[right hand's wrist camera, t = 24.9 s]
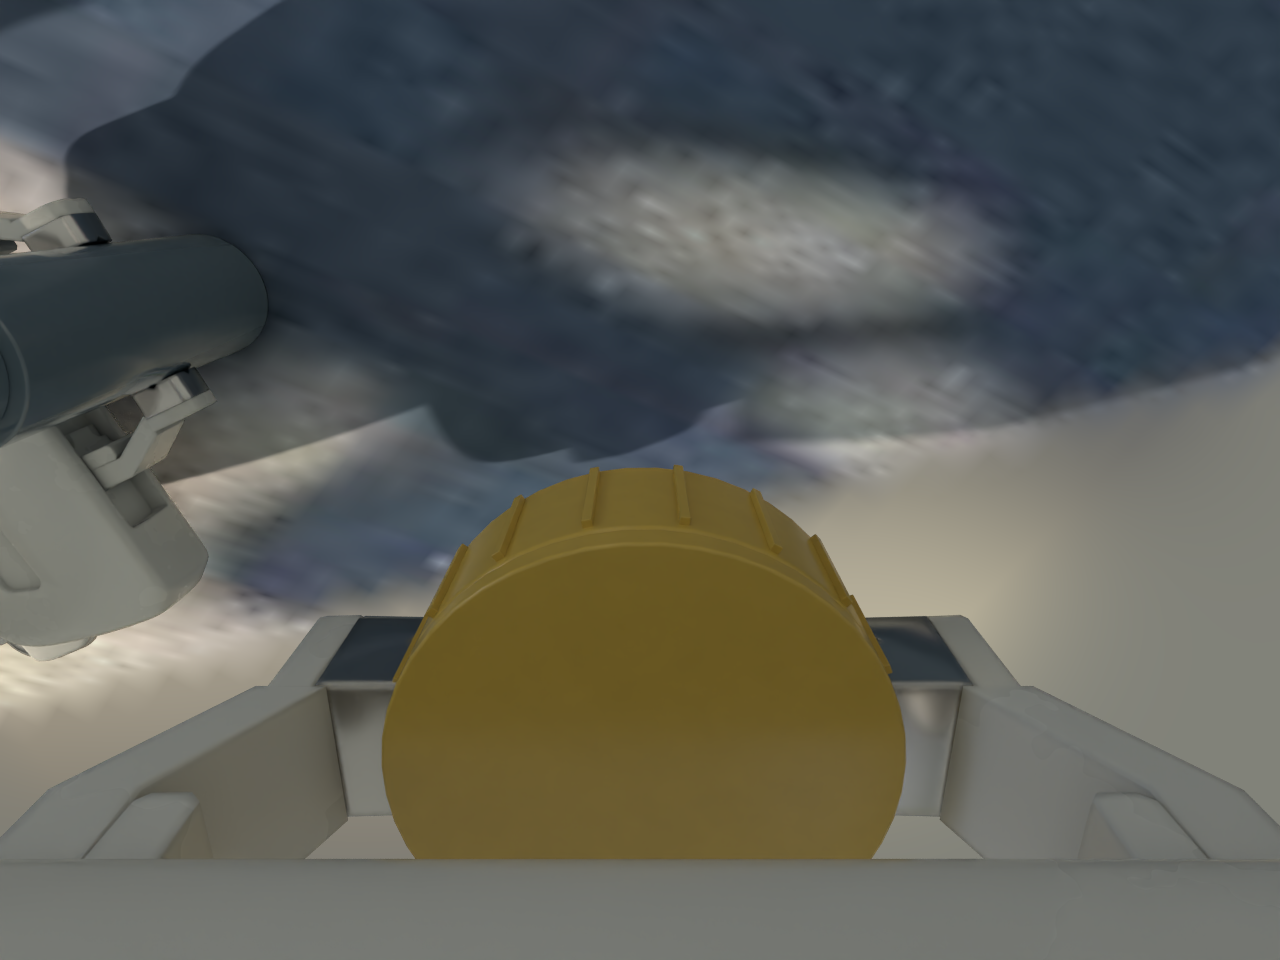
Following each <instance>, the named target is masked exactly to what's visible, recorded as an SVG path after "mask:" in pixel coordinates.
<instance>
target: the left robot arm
mask: <svg viewBox="0 0 1280 960" xmlns="http://www.w3.org/2000/svg"><path fill="white" fill-rule="evenodd" d="M14 241H22V242H25V243H26V244H27V246H28V247H29V249H30V250H31V251H40V250H50V249H59V248H68V247H77V246H86V245H96V244H105V243H110V242H111V241H112V239H111V237H110V235H109V234H108V232H107V231H106V229H105V227H104V226H103V224H102V223H101V221H100V219H99V218H98V216H97V215H96V213H95V212H94V210H93V209H92V207H91V206H90V204H89V203H88V201H87V200H86V199H84V198H81V199H61V200H57V201H54V202H51V203H48V204H45V205H43V206H41V207H39V208H38V209H36V210H34V211H32V212H30V213H28V214H20V213H11V212H2V211H0V255H3V254H10V253H11V252H13V251H15V250H17V245H16V243H15V242H14ZM203 392H204V393H203ZM201 393H202V394H201ZM199 394H200V395H199ZM131 396H132V397H133V399H134V400H135V402H136V403H137V405H138V406H139V408H140V410H141V411H142V413H143V414H144V416H143V418H142V419H141V421H140V423H139V425H138V426H137V428H136V430H135V431H134V432H132V433H130V434H128V435H126V434H125V433H124V432H123V430H122V429H121V427H120V426H119V425H118V423H117V422H116V420H115V419H114V417H113V416H112V415H111V413H110V412H109V410H108V409H107V408H106V406H103V407H101V408H98V409H96V410H93V411H91V412H88V413H86V414H83V415H81V416H79V417H76V418H74V419H71V420H69V421H66V422H64V423H61V424H59V425H57V426H54V427H52V428H49V429H47V430H44V431H42V432H40V433H37V434H35V435H32V436H30V437H27V438H25V439H22V440H20V441H18V442H15V443H13V444H10V445H8V446H5V447H3V448H0V645H3V644H5V643H8V644H9V645H10V646H11V647H13V648H14V649H15V650H17V651H19V652H20V653H22V654H25V655H27V656H30V657H32V658H33V659H34V660H37V661H49V660H53V659H56V658H60V657H62V656H65V655H67V654H69V653H72V652H74V651H77V650H79V649H81V648H84V647H86V646H88V645H89V644H91V643H92V642H93V641H94V640H95V639H96V637H97V636H99V635H103V634H106V633H110V632H113V631H116V630H120V629H123V628H126V627H129V626H132V625H135V624H138V623H141V622H144V621H146V620H149V619H151V618H154V617H156V616H158V615H160V614H162V613H163V612H165V611H166V610H167V609H169V608H170V607H172V606H173V605H174V604H175V603H177V602H178V601H179V600H180V599H181V598H183V597H184V596H185V595H186V594H187V593H188V592H189V591H190V590H191V589H193V588H194V587H195V585H196V584H197V583H198V582H199V581H200V579H201V577H202V575H203V572H204V569H205V567H206V564H207V561H208V552H207V550H206V548H205V547H204V545H203V543H202V542H201V541H200V539H199V538H198V536H197V535H196V534H195V532H194V531H193V529H192V528H191V526H190V525H189V524H188V522H187V521H186V519H185V518H184V517H183V515H182V514H181V512H180V511H179V510H178V508H177V507H176V505H175V504H174V502H173V501H172V500H171V498H170V497H169V495H168V494H167V493H166V491H165V490H164V488H163V487H162V485H161V484H160V483H159V481H158V480H157V478H156V477H155V475H154V474H153V473H152V471H151V470H150V468H149V467H151V466H153V465H154V464H156V463H158V462H160V461H161V460H163V459H165V458H166V456H167V454H168V452H169V450H170V449H171V447H172V445H173V443H174V441H175V439H176V437H177V435H178V433H179V431H180V429H181V427H182V425H183V423H184V421H185V420H184V419H183V418H186V417H188V416H190V415H192V414H194V413H196V412H198V411H200V410H202V409H204V408H206V407H208V406H209V405H211V404H213V403H215V402H217V400H216V398H215V397H214V395H213V394H212V392H211V391H210V389H209V388H208V386H207V385H206V383H205V382H204V380H203V379H202V377H201V376H200V374H199V372H198V371H197V369H196V368H195V367H192V368H189V369H187V370H185V371H182V372H180V373H177V374H175V375H173V376H171V377H168V378H166V379H164V380H162V381H160V382H159V383H157V384H156V385H154V386H152V387H149V388H147V389H144V390H142V391H140V392H137V393H135V394H133V395H131Z"/></svg>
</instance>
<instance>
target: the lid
mask: <svg viewBox="0 0 1280 960" xmlns="http://www.w3.org/2000/svg"><path fill="white" fill-rule="evenodd" d="M890 673H892V669H891V666H890V664H889V662H888V660H887V658H886V656H885V654H884V653H883V651H882V649H881V647H880V645H879V643H878V641H877V639H876V637H875V636H874V634H873V632H872V630H871V628H870V626H869V624H868V622H867V620H866V618H865V617H864V615H863V613H862V611H861V609H860V607H859V605H858V603H857V601H856V600H855V598H854V596H853V595H850V596H849V594H848V592H847V590H846V588H845V586H844V584H843V582H842V580H841V578H840V576H839V575H838V573H837V571H836V569H835V567H834V565H833V563H832V561H831V559H830V557H829V555H828V553H827V551H826V549H825V547H824V545H823V543H822V542H821V540H820V538H819V537H818V536H817V535H816V534H815V535H813V536H812V537H810V536H809V535H807V534H806V533H805V532H804V531H803V530H802V529H801V528H800V527H799V526H798V525H797V524H796V523H795V522H794V521H793V520H792V519H791V518H789V517H788V516H786V515H785V514H784V513H782V512H781V511H780V510H778V509H777V508H776V507H774V506H773V505H771V504H770V503H768V502H767V501H765V500H764V499H763V497H762V494H761V492H760V491H758V490H756V489H754V488H753V489H752V491H751V492H748V491H746V490H745V489H742V488H740V487H737V486H734V485H732V484H729V483H727V482H724V481H721V480H719V479H716V478H712V477H708V476H704V475H700V474H696V473H692V472H688V471H683V466H680V465H674V467H673V470H671V469H662V468H623V469H615V470H608V471H600V470H599V467H595V468H590V472H589V474H587V475H583V476H579V477H575V478H571V479H567V480H565V481H562V482H560V483H557V484H555V485H552V486H550V487H547V488H545V489H542V490H540V491H538V492H536V493H534V494H533V495H531V496H529V497H527V498H525V499H524V497H523V496H522V495H519V496H518V497H516V498H514V501H513V503H512V506H511V508H509V509H508V510H507V511H505V512H504V513H503V514H501V515H500V516H499V517H497V518H496V519H495V520H493V521H492V522H491V523H490V524H489V525H488V526H487V527H486V528H485V529H484V530H483V531H482V532H481V533H480V534H479V535H478V536H477V537H476V538H475V539H474V540H473V541H472V542H471V543H470V545H469V546H468V547H467V546H466V545H464V544H462V545H461V546H460V547H459V548H458V550H457V552H456V554H455V556H454V558H453V560H452V562H451V564H450V566H449V568H448V570H447V572H446V574H445V576H444V578H443V580H442V582H441V584H440V586H439V588H438V590H437V592H436V594H435V596H434V598H433V600H432V602H431V604H430V606H429V608H428V610H427V612H426V614H425V615H424V617H423V619H422V621H421V623H420V625H419V627H418V629H417V631H416V633H415V635H414V637H413V639H412V641H411V643H410V645H409V647H408V649H407V651H406V653H405V655H404V657H403V659H402V661H401V663H400V665H399V667H398V669H397V671H396V673H395V675H394V677H393V680H392V682H396V685H395V688H394V690H393V693H392V696H391V699H390V702H389V705H388V708H387V711H386V717H385V723H384V728H383V734H382V772H383V779H384V785H385V792H386V797H387V800H388V803H389V806H390V809H391V812H392V815H393V818H394V821H395V824H396V826H397V828H398V830H399V832H400V834H401V836H402V838H403V840H404V842H405V844H406V846H407V847H408V849H409V850H410V852H411V853H412V855H413V856H414V857H415V859H872V857H873V856H874V854H875V853H876V851H877V850H878V848H879V847H880V845H881V844H882V842H883V840H884V838H885V836H886V834H887V831H888V829H889V827H890V825H891V823H892V821H893V819H894V816H895V813H896V810H897V806H898V803H899V800H900V797H901V793H902V788H903V781H904V774H905V766H906V737H905V729H904V724H903V719H902V714H901V708H900V705H899V702H898V699H897V696H896V694H895V691H894V688H893V685H892V683H891V680H890V678H889V676H888V674H890Z"/></svg>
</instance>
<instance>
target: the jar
mask: <svg viewBox="0 0 1280 960" xmlns="http://www.w3.org/2000/svg"><path fill="white" fill-rule="evenodd" d="M267 310H268V300H267V294H266V289H265V286H264V283H263V281H262V278H261V276H260V274H259V273H258V271H257V269H256V268H255V266H254V265H253V264H252V262H251V261H250V260H249V259H248V258H247V257H246V256H245V255H244V254H243V253H242V252H241V251H240V250H238V249H237V248H236V247H234V246H233V245H231V244H229V243H228V242H226V241H224V240H221V239H219V238H216V237H213V236H209V235H203V234H188V235H179V236H169V237H160V238H151V239H142V240H132V241H123V242H114V243H105V244H96V245H86V246H77V247H68V248H59V249H50V250H40V251H31V252H22V253H13V254H3V255H0V448H3V447H5V446H8V445H10V444H13V443H15V442H18V441H20V440H22V439H25V438H27V437H30V436H32V435H35V434H37V433H40V432H42V431H44V430H47V429H49V428H52V427H54V426H57V425H59V424H61V423H64V422H66V421H69V420H71V419H74V418H76V417H79V416H81V415H83V414H86V413H88V412H91V411H93V410H96V409H98V408H101V407H103V406H105V405H108V404H110V403H113V402H115V401H118V400H120V399H123V398H125V397H127V396H130V395H132V394H135V393H137V392H140V391H142V390H144V389H147V388H149V387H152V386H154V385H156V384H157V383H159V382H160V381H162V380H164V379H166V378H168V377H171V376H173V375H175V374H177V373H180V372H182V371H185V370H187V369H189V368H192V367H195V368H198V367H201V366H203V365H206V364H208V363H210V362H213V361H215V360H218V359H220V358H223V357H225V356H227V355H230V354H232V353H235V352H237V351H239V350H242V349H244V348H245V347H247V346H249V345H250V344H251V343H252V342H253V341H254V340H255V339H256V338H257V337H258V336H259V334H260V333H261V331H262V329H263V327H264V324H265V322H266V317H267Z"/></svg>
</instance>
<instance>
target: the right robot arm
mask: <svg viewBox="0 0 1280 960" xmlns="http://www.w3.org/2000/svg"><path fill="white" fill-rule="evenodd" d="M422 619H423V617H393V616H364V617H363V616H361V615H350V616H325V617H321V618H319V619H318V621H317V622H316V623H315V625H314V626H313V627H312V628H311V630H310V631H309V632H308V634H307V635H306V636H305V638H304V639H303V640H302V642H301V643H300V644H299V646H298V647H297V648H296V650H295V651H294V652H293V654H292V655H291V656H290V657H289V659H288V660H287V662H286V663H285V664H284V665H283V667H282V668H281V669H280V671H279V672H278V673H277V675H276V676H275V677H274V679H273V680H272V681H271V683H270V684H269V685H268V686H255V687H253V688H251V689H249V690H247V691H245V692H243V693H241V694H239V695H237V696H235V697H233V698H231V699H229V700H227V701H225V702H223V703H221V704H219V705H217V706H215V707H213V708H211V709H209V710H207V711H205V712H203V713H201V714H199V715H197V716H195V717H193V718H191V719H189V720H186V721H185V722H182V723H181V724H178V725H176V726H174V727H172V728H170V729H168V730H166V731H164V732H162V733H160V734H158V735H156V736H154V737H152V738H150V739H148V740H146V741H144V742H142V743H140V744H138V745H136V746H134V747H132V748H130V749H128V750H126V751H124V752H122V753H120V754H118V755H116V756H114V757H112V758H110V759H108V760H106V761H104V762H102V763H100V764H98V765H96V766H94V767H92V768H90V769H88V770H86V771H84V772H82V773H80V774H78V775H76V776H74V777H72V778H70V779H68V780H66V781H64V782H62V783H60V784H58V785H56V786H54V787H52V788H50V789H48V790H47V791H46V792H45V793H44V794H43V795H42V796H41V797H40V798H39V799H38V800H37V801H36V802H35V803H34V804H33V805H32V806H31V807H30V808H29V809H28V810H27V811H26V812H25V813H24V814H23V815H22V816H21V817H20V818H19V819H18V820H17V821H16V822H15V823H14V824H13V825H12V826H11V827H10V828H9V829H8V830H7V831H6V833H4V834H3V836H1V838H0V960H1280V826H1279V825H1278V824H1277V823H1276V822H1275V821H1274V820H1273V819H1272V818H1271V817H1270V816H1269V815H1268V814H1267V813H1266V812H1265V811H1264V810H1263V809H1262V808H1261V807H1260V806H1259V805H1258V804H1257V803H1256V802H1255V801H1254V800H1253V799H1252V798H1251V797H1250V796H1249V795H1248V794H1247V793H1246V792H1245V791H1244V790H1242V789H1240V788H1238V787H1236V786H1234V785H1232V784H1230V783H1228V782H1226V781H1224V780H1222V779H1220V778H1218V777H1216V776H1214V775H1212V774H1210V773H1208V772H1206V771H1204V770H1202V769H1200V768H1198V767H1196V766H1194V765H1192V764H1190V763H1188V762H1186V761H1184V760H1182V759H1179V758H1177V757H1175V756H1173V755H1171V754H1169V753H1167V752H1165V751H1163V750H1161V749H1159V748H1157V747H1155V746H1153V745H1151V744H1149V743H1147V742H1145V741H1143V740H1141V739H1139V738H1137V737H1135V736H1133V735H1131V734H1129V733H1127V732H1125V731H1123V730H1121V729H1119V728H1117V727H1115V726H1113V725H1111V724H1109V723H1107V722H1104V721H1103V720H1101V719H1099V718H1097V717H1094V716H1092V715H1090V714H1088V713H1086V712H1084V711H1082V710H1080V709H1078V708H1076V707H1074V706H1072V705H1070V704H1068V703H1066V702H1064V701H1062V700H1060V699H1058V698H1056V697H1054V696H1052V695H1050V694H1048V693H1046V692H1044V691H1042V690H1040V689H1038V688H1036V687H1034V686H1020V685H1019V683H1018V682H1017V681H1016V679H1015V678H1014V677H1013V676H1012V674H1011V673H1010V672H1009V670H1008V669H1007V668H1006V667H1005V665H1004V664H1003V663H1002V661H1001V660H1000V659H999V658H998V656H997V655H996V654H995V653H994V651H993V650H992V649H991V647H990V646H989V645H988V644H987V642H986V641H985V640H984V638H983V637H982V636H981V635H980V633H979V632H978V631H977V629H976V628H975V627H974V626H973V624H972V623H971V622H970V620H969V619H968V618H966V617H963V616H961V615H949V616H914V617H873V618H866V620H867V622H868V624H869V626H870V628H871V630H872V632H873V634H874V636H875V637H876V639H877V641H878V643H879V645H880V647H881V649H882V651H883V653H884V654H885V656H886V658H887V660H888V662H889V664H890V666H891V669H892V673H890V674H888V676H889V678H890V680H891V683H892V685H893V688H894V691H895V694H896V696H897V699H898V702H899V705H900V708H901V714H902V719H903V724H904V729H905V737H906V766H905V774H904V781H903V788H902V793H901V797H900V800H899V803H898V806H897V810H896V813H895V815H903V816H940V820H941V821H942V822H943V823H944V824H945V825H946V826H948V827H949V828H950V829H951V830H952V831H953V832H954V833H955V834H957V835H958V836H959V837H960V838H961V839H962V840H963V841H964V842H966V843H967V844H968V845H969V846H970V847H971V848H972V849H973V850H975V851H976V852H977V853H978V854H979V855H980V856H981V857H982V858H984V859H305V858H306V857H307V856H309V855H310V854H311V853H312V852H313V851H314V850H315V849H316V848H318V847H319V846H320V845H321V844H322V843H323V842H324V841H325V840H326V839H328V838H329V837H330V836H331V835H332V834H333V833H334V832H335V831H337V830H338V829H339V828H340V827H341V826H342V825H343V824H344V823H345V822H347V820H348V816H383V815H392V812H391V809H390V806H389V803H388V800H387V797H386V792H385V785H384V779H383V772H382V734H383V728H384V723H385V717H386V711H387V708H388V705H389V702H390V699H391V696H392V693H393V690H394V688H395V685H396V682H392V680H393V677H394V675H395V673H396V671H397V669H398V667H399V665H400V663H401V661H402V659H403V657H404V655H405V653H406V651H407V649H408V647H409V645H410V643H411V641H412V639H413V637H414V635H415V633H416V631H417V629H418V627H419V625H420V623H421V621H422Z"/></svg>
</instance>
